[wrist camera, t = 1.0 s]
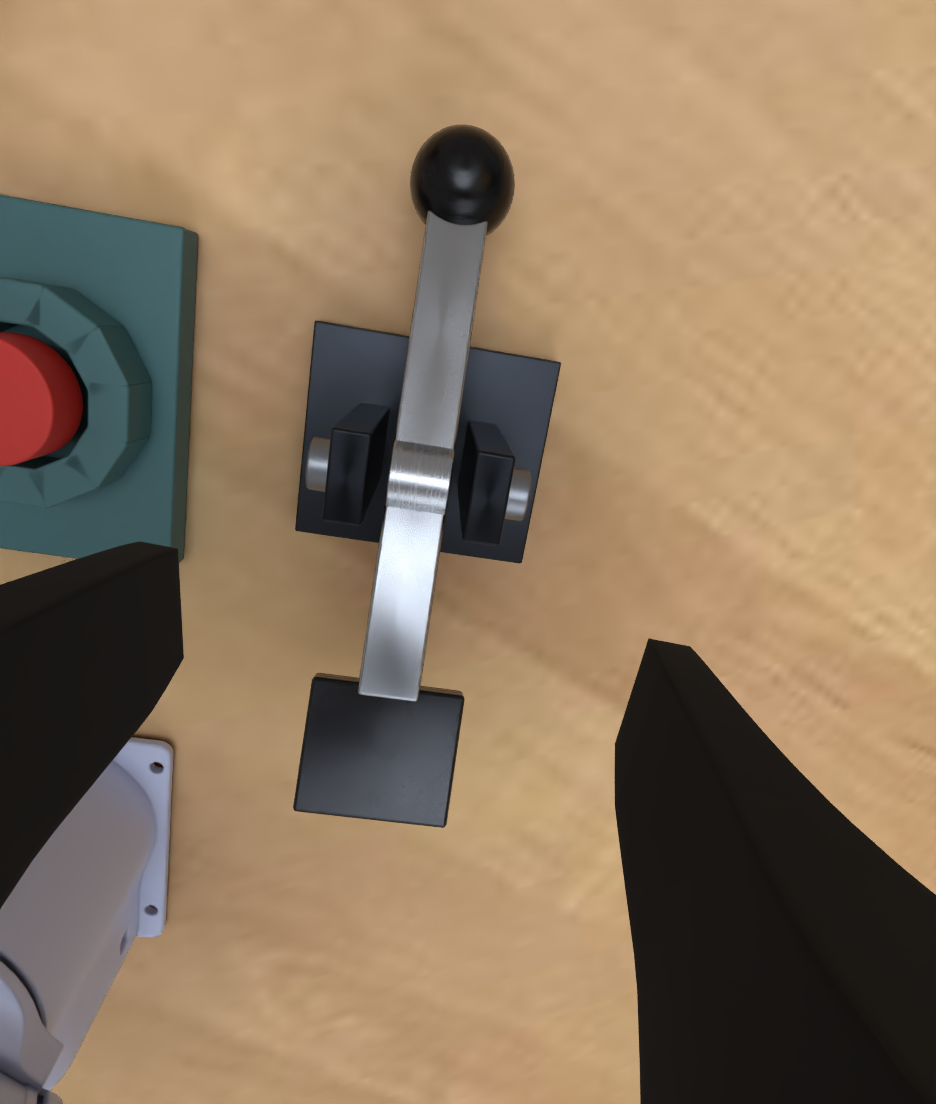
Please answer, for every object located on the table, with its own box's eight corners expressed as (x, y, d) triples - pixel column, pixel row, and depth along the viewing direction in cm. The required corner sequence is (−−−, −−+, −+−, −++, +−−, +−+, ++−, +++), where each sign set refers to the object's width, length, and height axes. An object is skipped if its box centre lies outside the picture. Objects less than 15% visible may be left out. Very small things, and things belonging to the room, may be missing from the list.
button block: (184, 559, 25) (149, 591, 22) (-47, 527, 25) (-116, 555, 22) (199, 233, 22) (160, 217, 19) (-66, 186, 21) (-151, 162, 18)
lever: (442, 804, 20) (447, 845, 17) (302, 788, 20) (284, 827, 17) (533, 176, 20) (553, 116, 18) (396, 150, 20) (395, 85, 17)
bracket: (518, 555, 26) (546, 637, 19) (300, 523, 25) (246, 596, 18) (556, 361, 24) (603, 373, 17) (319, 320, 23) (267, 316, 16)
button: (84, 464, 21) (53, 475, 20) (-39, 446, 21) (-80, 456, 19) (84, 343, 20) (52, 344, 19) (-46, 322, 20) (-90, 321, 18)
